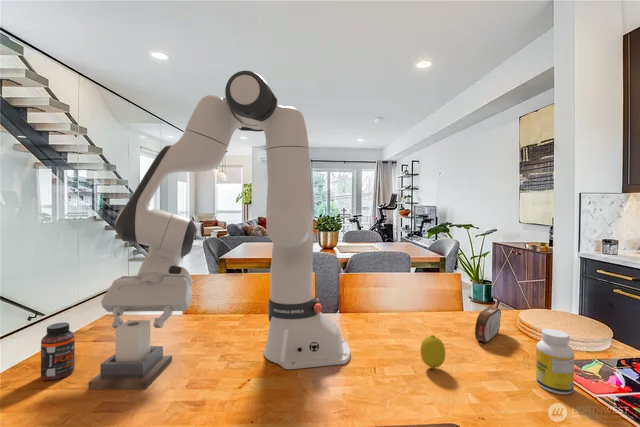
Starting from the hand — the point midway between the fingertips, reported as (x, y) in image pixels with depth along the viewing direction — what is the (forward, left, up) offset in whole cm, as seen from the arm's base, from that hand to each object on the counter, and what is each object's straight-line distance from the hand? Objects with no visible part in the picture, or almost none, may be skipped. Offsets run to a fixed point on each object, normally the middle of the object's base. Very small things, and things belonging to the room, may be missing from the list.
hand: (136, 327), depth 74 cm
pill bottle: (-92, +7, -11) cm, 93 cm away
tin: (-92, -19, -11) cm, 94 cm away
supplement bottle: (+17, +1, -11) cm, 20 cm away
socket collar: (0, +1, -9) cm, 9 cm away
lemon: (-69, -1, -11) cm, 70 cm away
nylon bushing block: (0, +1, -9) cm, 9 cm away
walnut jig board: (0, +1, -10) cm, 10 cm away
